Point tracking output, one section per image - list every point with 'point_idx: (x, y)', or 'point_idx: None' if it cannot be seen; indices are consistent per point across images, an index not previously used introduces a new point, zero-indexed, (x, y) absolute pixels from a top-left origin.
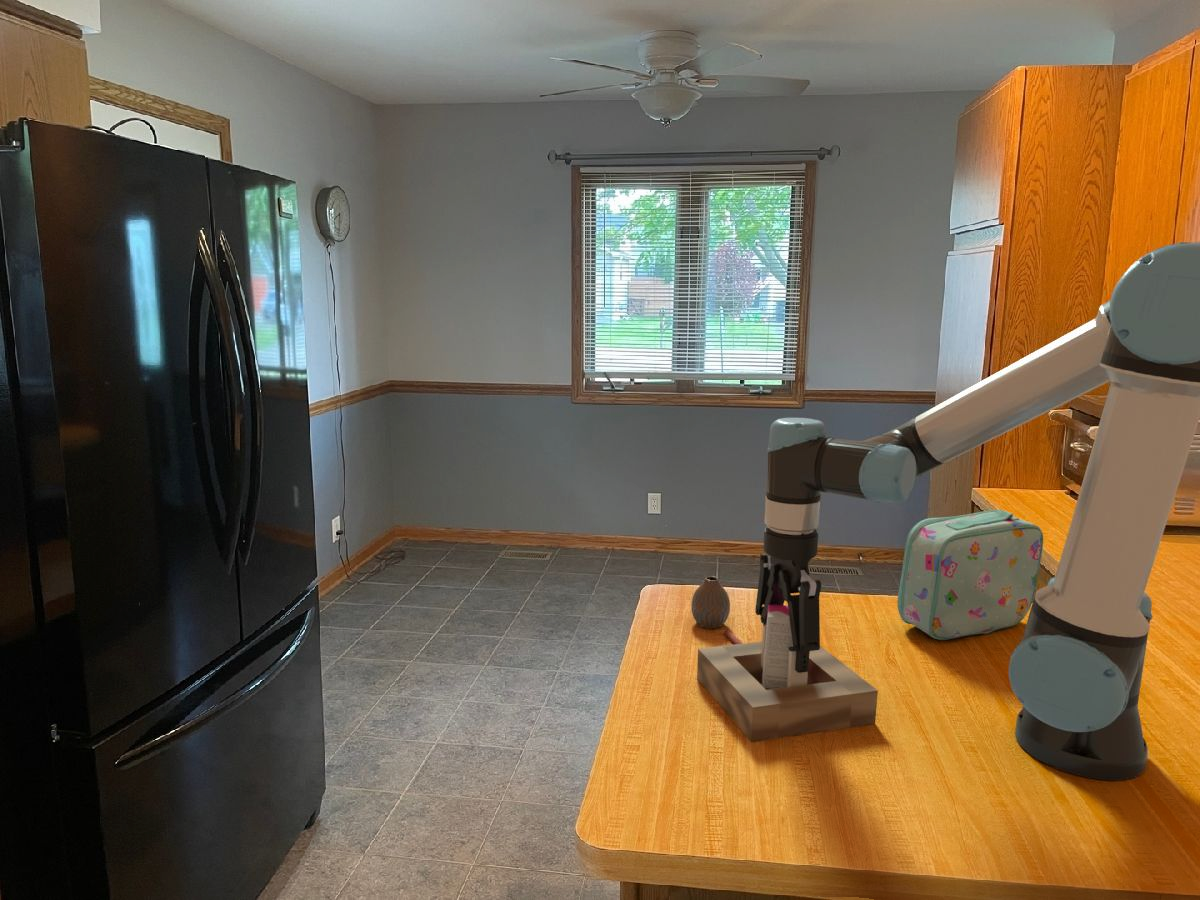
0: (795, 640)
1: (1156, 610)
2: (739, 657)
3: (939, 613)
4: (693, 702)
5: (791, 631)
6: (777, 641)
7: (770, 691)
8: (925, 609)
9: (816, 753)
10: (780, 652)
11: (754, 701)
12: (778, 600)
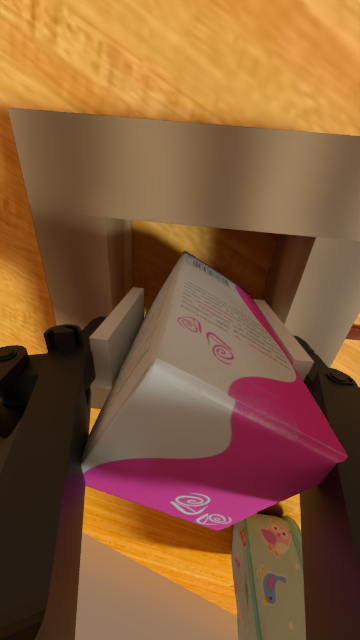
0: (50, 364)
1: (210, 591)
2: (305, 258)
3: (244, 555)
4: (268, 85)
5: (77, 387)
6: (148, 326)
7: (94, 223)
8: (258, 555)
9: (28, 248)
10: (150, 316)
11: (43, 137)
12: (317, 524)
